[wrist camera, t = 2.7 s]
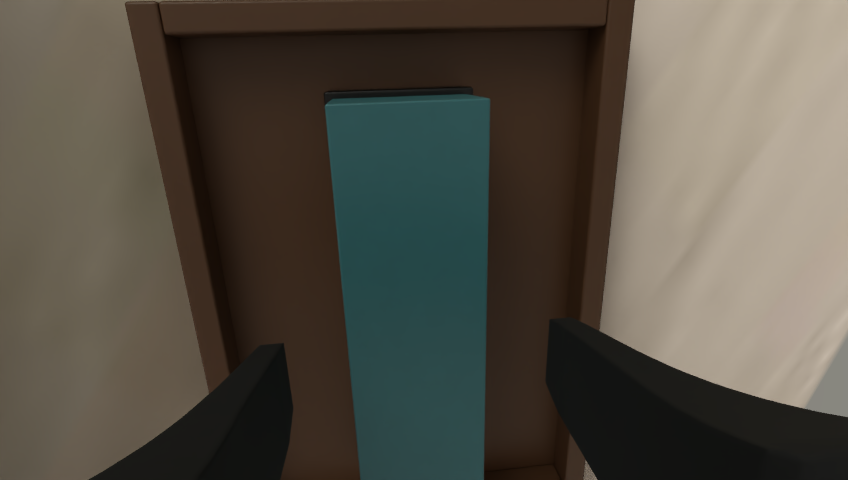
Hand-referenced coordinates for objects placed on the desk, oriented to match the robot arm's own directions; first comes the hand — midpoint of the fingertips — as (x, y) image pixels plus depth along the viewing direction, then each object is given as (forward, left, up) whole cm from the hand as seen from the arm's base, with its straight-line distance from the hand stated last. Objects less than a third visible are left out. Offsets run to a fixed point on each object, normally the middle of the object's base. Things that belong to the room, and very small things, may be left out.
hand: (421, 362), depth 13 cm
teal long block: (0, 0, -4) cm, 4 cm away
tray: (0, 0, -5) cm, 5 cm away
